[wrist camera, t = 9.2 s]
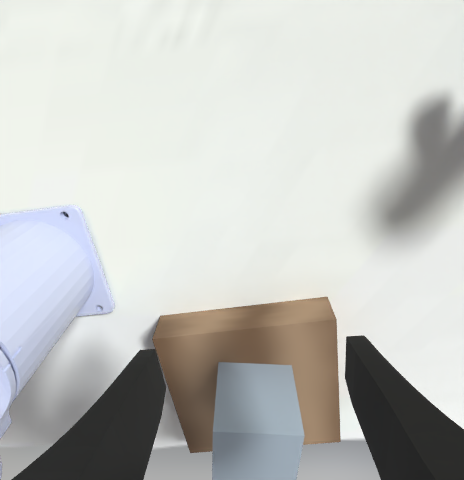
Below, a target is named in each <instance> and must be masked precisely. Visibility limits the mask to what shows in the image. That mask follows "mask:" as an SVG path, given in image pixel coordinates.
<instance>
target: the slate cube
mask: <svg viewBox="0 0 464 480" xmlns="http://www.w3.org/2000/svg"><path fill="white" fill-rule="evenodd" d="M304 436H305V435H304V430H303V424H302V419H301V413H300V408H299V402H298V397H297V391H296V386H295V380H294V375H293V369H292V365H276V364H252V363H229V362H218V375H217V387H216V399H215V411H214V423H213V464H212V465H213V466H212V467H213V468H212V480H296V478H297V473H298V468H299V462H300V457H301V451H302V447H303V442H304Z"/></svg>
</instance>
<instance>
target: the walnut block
mask: <svg viewBox="0 0 464 480" xmlns="http://www.w3.org/2000/svg"><path fill="white" fill-rule="evenodd" d="M152 340H153V343H154V346H155V349H156V352H157V355H158V358H159V361H160V364H161V367H162V370H163V373H164V376H165V379H166V382H167V385H168V388H169V391H170V394H171V396H172V399H173V402H174V405H175V408H176V411H177V414H178V417H179V420H180V423H181V426H182V429H183V432H184V435H185V438H186V441H187V444H188V447H189V450H190V453H196V452H210V451H213V423H214V411H215V399H216V387H217V375H218V362H229V363H252V364H276V365H292V369H293V375H294V380H295V386H296V391H297V397H298V402H299V408H300V413H301V419H302V424H303V430H304V435H305V436H304V442H303V445H305V444H318V443H332V442H340V414H339V383H338V353H337V323H336V317H335V315H334V312H333V310H332V307H331V305H330V302H329V300H328V297H321V298H312V299H304V300H295V301H286V302H277V303H269V304H260V305H251V306H242V307H234V308H225V309H216V310H208V311H199V312H190V313H181V314H173V315H164V316H160V319H159V322H158V325H157V327H156V330H155V333H154V336H153V339H152Z"/></svg>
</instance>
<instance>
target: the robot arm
mask: <svg viewBox="0 0 464 480" xmlns="http://www.w3.org/2000/svg"><path fill="white" fill-rule="evenodd" d="M63 212H66V213H67V214H68V215H69V217H66V216H64V214H63ZM98 305H100V306H102V307H103V308H100V307H99V306H98ZM114 308H115V303H114V301H113V298H112V295H111V292H110V289H109V286H108V283H107V281H106V278H105V275H104V272H103V269H102V266H101V263H100V261H99V258H98V255H97V252H96V249H95V246H94V243H93V241H92V238H91V235H90V232H89V229H88V226H87V224H86V221H85V218H84V215H83V212H82V210H81V209H80V208H79V207H78V206H76V205H68V206H60V207H53V208H45V209H38V210H30V211H22V212H15V213H7V214H0V439H1V437H2V436H3V434H4V433H5V431H6V430H7V428H8V427H9V426H10V424H11V423H12V421H11V418H10V416H9V408H10V406H11V404H12V402H13V401H14V400H15V398H16V397H17V396H18V394H19V393H20V392H21V390H22V389H23V387H24V386H25V385H26V383H27V382H28V381H29V379H30V378H31V376H32V375H33V374H34V372H35V371H36V370H37V368H38V367H39V365H40V364H41V363H42V361H43V360H44V359H45V357H46V356H47V354H48V353H49V352H50V350H51V349H52V348H53V346H54V345H55V344H56V342H57V341H58V339H59V338H60V337H61V335H62V334H63V333H64V331H65V330H66V328H67V327H68V326H69V324H70V323H71V322H72V320H73V319H74V317H75V316H85V315H95V314H105V313H111V312H112V311H113V310H114ZM345 379H346V383H347V387H348V391H349V394H350V398H351V402H352V405H353V408H354V411H355V413H356V416H357V418H358V421H359V424H360V426H361V429H362V431H363V434H364V437H365V439H366V442H367V444H368V447H369V449H370V452H371V454H372V457H373V460H374V462H375V465H376V467H377V469H378V472H379V475H380V478H381V480H464V429H462V428H461V427H460V426H459V425H457V424H456V423H455V422H453V421H452V420H451V419H450V418H448V417H447V416H446V415H445V414H444V413H442V412H441V411H440V410H439V409H438V408H436V407H435V406H434V405H433V404H432V403H431V402H430V401H428V400H427V399H426V398H425V397H424V396H423V395H422V394H421V393H420V392H418V391H417V390H416V389H415V388H414V387H413V386H412V385H411V384H410V383H409V382H408V381H407V380H406V379H405V378H404V377H403V376H402V375H401V374H400V373H399V372H398V371H397V370H396V369H395V368H394V367H393V366H392V365H391V364H390V363H389V362H388V361H387V360H386V359H385V358H384V357H383V356H382V355H381V353H380V352H379V351H378V350H377V349H376V348H375V347H374V346H373V345H372V344H371V342H370V341H369V340H368V339H367V338H366V337H365V336H349V337H346V366H345ZM165 391H166V386H165V382H164V379H163V375H162V372H161V368H160V364H159V361H158V357H157V354H156V350H155V349H150V350H140V351H139V352H138V353H137V354H136V355H135V357H134V358H133V359H132V360H131V361H130V363H129V364H128V365H127V366H126V367H125V369H124V370H123V371H122V372H121V374H120V375H119V376H118V377H117V378H116V380H115V381H114V382H113V383H112V384H111V385H110V387H109V388H108V389H107V390H106V391H105V392H104V394H103V395H102V396H101V397H100V398H99V399H98V400H97V402H96V403H95V404H94V405H93V406H92V407H91V408H90V409H89V410H88V411H87V412H86V413H85V415H84V416H83V417H82V418H81V419H80V420H79V421H78V422H77V423H76V424H75V425H74V426H73V427H72V428H71V429H70V430H69V431H68V432H67V433H66V434H65V435H63V436H62V437H61V438H60V439H59V440H58V441H57V442H56V443H55V444H54V445H53V446H52V447H50V448H49V449H48V450H47V451H46V452H45V453H44V454H42V455H41V456H40V457H39V458H37V459H36V460H35V461H34V462H33V463H32V464H30V465H29V466H28V467H27V468H26V469H24V470H23V471H22V472H21V473H19V474H18V475H17V476H16V477H14V478H13V479H12V480H143V479H144V475H145V471H146V468H147V465H148V461H149V458H150V454H151V451H152V447H153V444H154V440H155V437H156V433H157V430H158V426H159V423H160V419H161V415H162V410H163V404H164V397H165ZM1 476H2V462H1V457H0V480H1Z"/></svg>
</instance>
